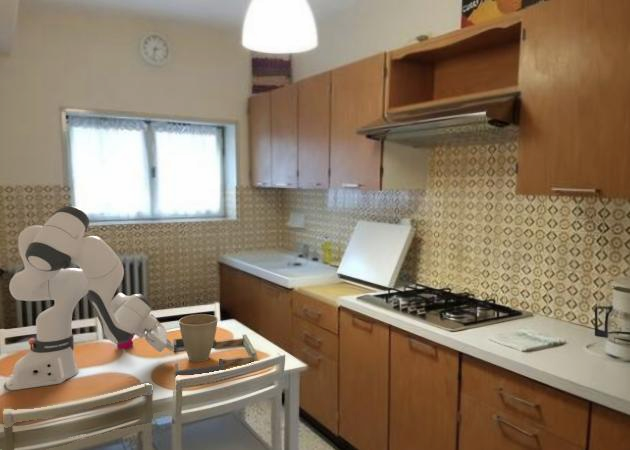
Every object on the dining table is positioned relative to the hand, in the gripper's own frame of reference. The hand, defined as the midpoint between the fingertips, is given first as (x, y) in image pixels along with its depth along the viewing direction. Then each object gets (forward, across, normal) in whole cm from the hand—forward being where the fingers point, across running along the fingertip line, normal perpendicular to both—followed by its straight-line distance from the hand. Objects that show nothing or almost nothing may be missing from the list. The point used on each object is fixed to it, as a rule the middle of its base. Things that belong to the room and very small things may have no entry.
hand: (172, 348), depth 179 cm
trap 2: (+10, -14, -3) cm, 18 cm away
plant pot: (+11, 0, -3) cm, 11 cm away
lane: (+21, 0, -13) cm, 25 cm away
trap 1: (+10, +15, -2) cm, 18 cm away
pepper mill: (-10, +24, +18) cm, 32 cm away
